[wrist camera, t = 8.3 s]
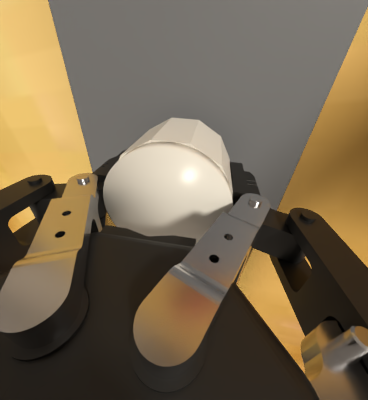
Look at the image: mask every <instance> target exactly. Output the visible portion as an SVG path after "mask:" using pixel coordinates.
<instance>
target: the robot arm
mask: <svg viewBox="0 0 368 400" xmlns="http://www.w3.org/2000/svg"><path fill="white" fill-rule="evenodd" d="M125 151H126V150H123V151H122V152H121V153H120V154H119V155H117V156H115V157H113V158H111V159H109V160H107V161H106V162H105V164H103V165H101V167H99V168H98V169H97V170H95V171H94V172H93V173H83V174H78V175H75V176H73V177H71V178H70V179H69V180H68V182H67V184H54V182H53V180H52V178H51V176H48V175H35V176H31V177H28V178H25V179H23V180H21V181H19V182H17V183H14V184H12V185H10V186H8V187H6V188H4V189H2V190H0V400H368V268H367V267H366V265H365V264H364V263H363V262H362V261H361V260H360V259H359V258H358V257H357V255H356V254H355V253H354V252H353V251H352V250H351V249H350V248H349V247H348V246H347V244H346V243H345V242H344V241H343V240H342V239H341V238H340V237H339V236H338V234H337V233H336V232H335V231H334V230H333V229H332V228H331V227H330V226H329V225H328V223H327V222H326V221H325V220H324V219H323V218H322V217H321V216H320V215H318V214H317V213H315V212H313V211H310V210H308V209H304V208H294V209H292V210H291V211H290V213H289V215H288V214H285V213H282V212H279V211H276V210H273V209H271V208H270V207H271V204H270V202H269V201H268V200H267V199H266V198H265V197H263V196H261V195H260V192H259V189H258V186H257V183H256V180H255V177H254V175H252V174H251V173H250V172H247V171H244V169H243V165H242V163H237V162H230V169H231V177H232V185H233V197H232V199H233V207H232V209H231V210H230V211H229V213H228V214H227V213H225V212H223V213H222V214H221V215H220V216H219V217H218V218H217V219H216V221H215V222H214V223H213V224H212V226H211V227H210V228H209V229H208V230H207V232H206V233H205V234H204V235H203V236H202V238H201V239H200V240H199V241H198V242H197V244H196V239H195V238H188V237H181V236H175V235H168V236H145V235H143V234H140V233H138V232H135V231H132V230H130V229H127V228H121V227H114V226H108V225H107V221H108V217H107V210H106V207H105V204H104V198H103V187H104V182H105V179H106V176H107V174H108V173H109V171H110V169H111V168H112V167H113V166H114V164H115V163H117V162H118V160H119V158H120V156H121V154H122V153H124V152H125ZM27 207H30V208H31V210H32V212H33V214H34V216H35V219H33V220H32V221H30V222H29V223H27V224H26V225H24V226H23V227H21V228H20V229H18V230H17V231H16V232H14V233H12V231H11V230H10V228H9V227H8V222H9V220H10V218H11V217H12V216H14V215H15V214H17V213H19V212H20V211H22V210H24V209H25V208H27ZM195 244H196V245H195ZM253 248H255V249H257V250H260V251H262V252H264V253H267V254H269V255H270V258H271V261H272V263H273V265H274V267H275V270H276V272H277V274H278V276H279V279H280V281H281V283H282V285H283V288H284V290H285V292H286V294H287V297H288V299H289V301H290V303H291V306H292V308H293V310H294V312H295V315H296V317H297V319H298V321H299V324H300V326H301V328H302V330H303V333H304V335H305V337H304V339H303V340H302V342H301V355H302V358H303V362H304V367H305V374H304V372H303V371H302V370H301V368H300V367H299V366H298V364H297V363H296V362H295V361H294V359H293V358H292V357H291V355H290V354H289V353H288V351H287V350H286V349H285V348H284V346H283V345H282V344H281V342H280V341H279V340H278V338H277V337H276V336H275V334H274V333H273V332H272V331H271V329H270V328H269V327H268V325H267V324H266V323H265V321H264V320H263V319H262V317H261V316H260V315H259V314H258V312H257V311H256V310H255V308H254V307H253V306H252V304H251V303H250V302H249V301H248V299H247V298H246V297H245V295H244V294H243V293H242V291H241V290H240V289H239V287H238V286H237V283H238V280H239V278H240V276H241V274H242V271H243V269H244V267H245V265H246V263H247V261H248V259H249V257H250V254H251V252H252V250H253ZM305 256H306V257H307V259H308V260H309V262H310V264H311V267H312V269H311V268H310V266H309V264H308V263H307V261H306V260H305Z"/></svg>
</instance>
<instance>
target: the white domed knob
mask: <svg viewBox="0 0 368 400" xmlns="http://www.w3.org/2000/svg"><path fill="white" fill-rule="evenodd" d="M232 197H233V185H232V177H231V169H230V158H229V156H228V153H227V151H226V148H225V146H224V143H223V140H222V138H221V136H220V135H219V134H217V133H216V132H215V131H213V130H212V129H211V128H209V127H208V126H207V125H205V124H204V123H203V122H201V121H200V120H194V119H183V118H170V119H168V120H166V121H164V122H162V123H161V124H159V125H157V126H155V127H153V128H151V129H149V130H148V131H147V132H146V133H145V134H144V135H143V136H142V137H140V138H139V139H138V140H137V141H136V142H135V143H134V144H133V145H131V146H130V147H129V148H128V149H127V150H126V151H125V152H124V153H122V154H121V156H120V158H119V160H118V162H117V163H115V164H114V166H113V167H112V168H111V169H110V171H109V173H108V174H107V176H106V179H105V182H104V187H103V198H104V204H105V207H106V210H107V212H108V214H109V216H110V218H111V220H112V221H113V223H114V224H115V225H116V226H117V227H121V228H127V229H130V230H132V231H135V232H138V233H140V234H143V235H145V236H168V235H175V236H181V237H188V238H195V239H196V244H197V242H198V241H199V240H200V239H201V238H202V236H203V235H204V234H205V233H206V232H207V230H208V229H209V228H210V227H211V226H212V224H213V223H214V222H215V221H216V219H217V218H218V217H219V216H220V215H221V214H222V213H223V212H225V213H227V214H228V213H229V211H230V210H231V209H232V207H233V199H232ZM196 244H195V245H196Z"/></svg>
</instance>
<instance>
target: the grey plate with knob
mask: <svg viewBox="0 0 368 400" xmlns="http://www.w3.org/2000/svg"><path fill="white" fill-rule="evenodd" d="M48 2H49V5H50V9H51V13H52V17H53V21H54V25H55V28H56V32H57V36H58V40H59V44H60V48H61V52H62V55H63V59H64V63H65V67H66V71H67V75H68V79H69V82H70V86H71V90H72V94H73V98H74V102H75V106H76V109H77V113H78V117H79V121H80V125H81V129H82V133H83V136H84V140H85V144H86V148H87V152H88V156H89V159H90V163H91V167H92V171H93V172H94V171H95V170H97V169H98V168H99V167H101V165H103V164H105V162H106V161H107V160H109V159H111V158H113V157H115V156H117V155H119V154H120V153H121V152H122V151H123V150H127V149H128V148H129V147H130V146H131V145H133V144H134V143H135V142H136V141H137V140H138V139H139V138H140V137H142V136H143V135H144V134H145V133H146V132H147V131H148V130H149V129H151V128H153V127H155V126H157V125H159V124H161V123H162V122H164V121H166V120H168V119H170V118H183V119H194V120H200V121H201V122H203V123H204V124H205V125H207V126H208V127H209V128H211V129H212V130H213V131H215V132H216V133H217V134H219V135H220V136H221V138H222V140H223V143H224V146H225V148H226V151H227V153H228V156H229V158H230V162H237V163H242V165H243V169H244V171H247V172H250V173H251V174H252V175H254V177H255V180H256V183H257V186H258V189H259V192H260V195H261V196H263V197H265V198H266V199H267V200H268V201H269V202H270V204H271V207H270V208H271V209H273V210H276V211H277V208H278V206H279V204H280V202H281V199H282V197H283V195H284V193H285V191H286V188H287V186H288V184H289V182H290V179H291V177H292V175H293V173H294V170H295V168H296V166H297V164H298V161H299V159H300V157H301V155H302V152H303V150H304V148H305V146H306V144H307V141H308V139H309V137H310V135H311V132H312V130H313V128H314V126H315V123H316V121H317V119H318V117H319V114H320V112H321V110H322V108H323V105H324V103H325V101H326V99H327V96H328V94H329V92H330V90H331V88H332V85H333V83H334V81H335V79H336V76H337V74H338V72H339V70H340V67H341V65H342V63H343V61H344V58H345V56H346V54H347V52H348V49H349V47H350V45H351V43H352V40H353V38H354V36H355V34H356V32H357V29H358V27H359V25H360V23H361V20H362V18H363V16H364V14H365V11H366V9H367V7H368V0H48Z"/></svg>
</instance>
